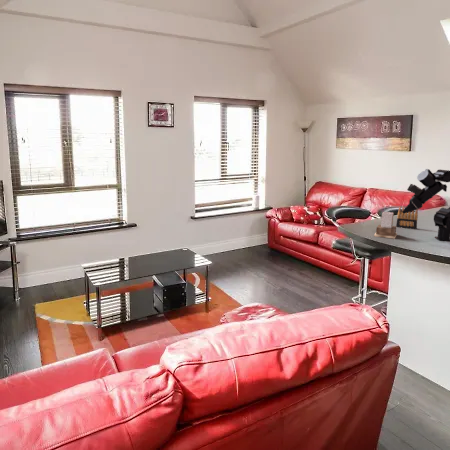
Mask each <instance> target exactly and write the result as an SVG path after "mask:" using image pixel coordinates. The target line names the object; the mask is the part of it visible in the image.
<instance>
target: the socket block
mask: <svg viewBox="0 0 450 450" xmlns="http://www.w3.org/2000/svg"><path fill="white" fill-rule="evenodd" d="M397 236H398V232H397V227H396V226H395V225H392V229H390V228H381V224H378V225H377V227H376V232H375V233H374V236H373V237H376V238H377V237H378V238H386V239H396V237H397Z"/></svg>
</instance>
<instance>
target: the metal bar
mask: <svg viewBox="0 0 450 450" xmlns="http://www.w3.org/2000/svg"><path fill="white" fill-rule="evenodd" d="M393 224H394V212H392V211H391V212H390V211H383V212H382V213H381V222H380V225H381V228H390V229H392V226H393Z"/></svg>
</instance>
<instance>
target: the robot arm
mask: <svg viewBox="0 0 450 450" xmlns="http://www.w3.org/2000/svg"><path fill="white" fill-rule="evenodd" d="M416 179H417V181H419V182H420V183H421V185H423V186H424V187H423V188H421V187H419V186H418V185H416V184H413V183H410V184H409V186H408V187H407V190H406V191H408V192H411V193H413V195H412V196H411V198H410V199H409V203H408V204H407V205H406V206H405V207H404V210H403V211H402V210H401V212H403V213H404V214H405V213H407V214H408V212H410V211H411V212H412V211H414V212H415V211H416V210H420V209H422V208H423V205H425V204H426V203H427V202H428V201H429V200H431V199H432V198H433V197H434V196H436V195H437V194H439V193H440V192H441V191H444V192H446V193H447V190H448V189H447V188H448V186H447V184H446V183H450V170H449V169H447V170H446V169H437V170H436V171H435V172H432V171H431V169H428V168H425V170H423V171H421V172H420V173H418V175H417V176H416ZM443 183H444V184H443ZM433 222H434V226H435V227H438V229H437V236H434V238H435V239H436V240H438V241H442V242H443V241H444V242H445V241H446V242H450V206H449V207H448V208H445V207H441V208H440V209H438V210H437V211H435V214H434V215H433Z"/></svg>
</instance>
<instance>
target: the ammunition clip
mask: <svg viewBox="0 0 450 450" xmlns="http://www.w3.org/2000/svg"><path fill="white" fill-rule="evenodd" d="M404 209H405V207H404V206H402V208H401V206H399V207H398V212H397V217H396V228H401V227H402V228H403V229H410V228H411V229H413V230H417V227H418V218H419V213H418V210H419V209H418V210H414V211H410V212H407V213H403V212H402V211H403V210H404Z"/></svg>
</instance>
